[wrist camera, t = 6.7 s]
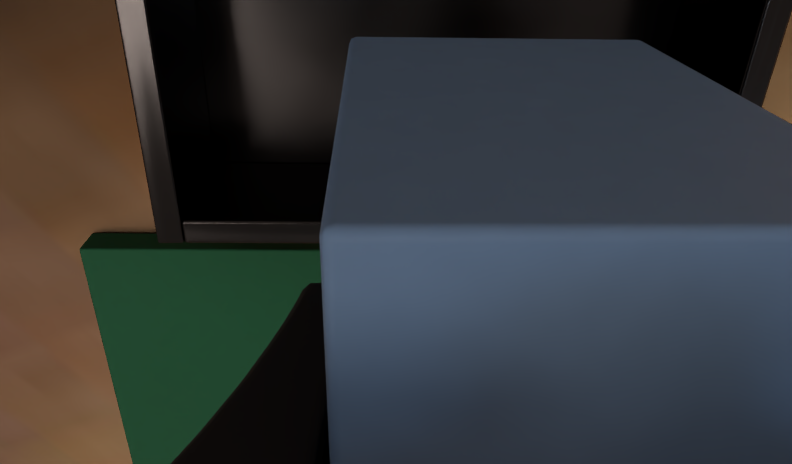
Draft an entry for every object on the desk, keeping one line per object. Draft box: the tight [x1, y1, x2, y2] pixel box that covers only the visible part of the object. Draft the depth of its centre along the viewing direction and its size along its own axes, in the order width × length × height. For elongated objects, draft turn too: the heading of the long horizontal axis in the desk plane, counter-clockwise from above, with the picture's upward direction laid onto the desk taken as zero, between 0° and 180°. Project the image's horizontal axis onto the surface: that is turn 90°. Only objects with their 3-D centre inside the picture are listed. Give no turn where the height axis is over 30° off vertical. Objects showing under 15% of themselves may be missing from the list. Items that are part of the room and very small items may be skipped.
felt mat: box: [80, 233, 321, 464], centre depth 21 cm, size 20×10×1 cm, turn 89°
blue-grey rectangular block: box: [319, 37, 792, 464], centre depth 8 cm, size 4×8×6 cm, turn 179°
